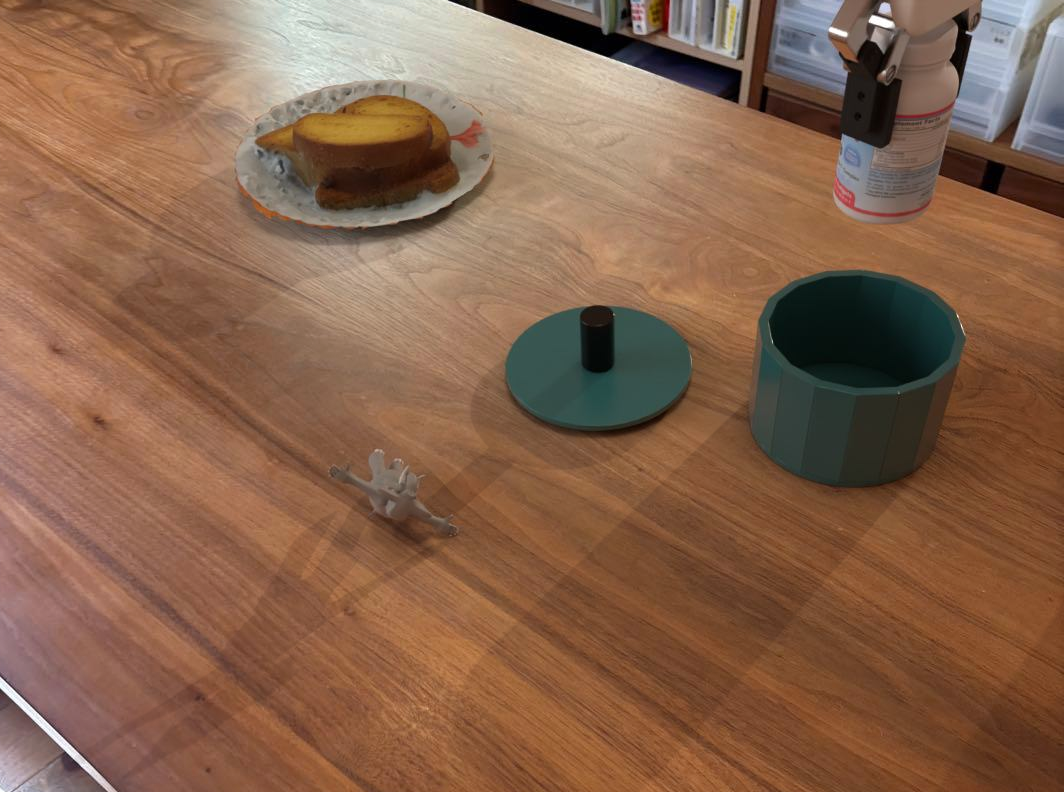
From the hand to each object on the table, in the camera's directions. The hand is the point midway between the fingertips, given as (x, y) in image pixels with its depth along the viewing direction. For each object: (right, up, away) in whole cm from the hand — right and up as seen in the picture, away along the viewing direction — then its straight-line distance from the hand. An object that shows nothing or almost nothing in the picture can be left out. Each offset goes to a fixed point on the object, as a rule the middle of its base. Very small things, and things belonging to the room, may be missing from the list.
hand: (899, 114), depth 66 cm
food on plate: (-38, +11, +43) cm, 58 cm away
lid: (-17, -12, +20) cm, 29 cm away
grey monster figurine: (-32, -24, +12) cm, 42 cm away
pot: (+1, -17, +15) cm, 23 cm away
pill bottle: (0, -4, +5) cm, 6 cm away
